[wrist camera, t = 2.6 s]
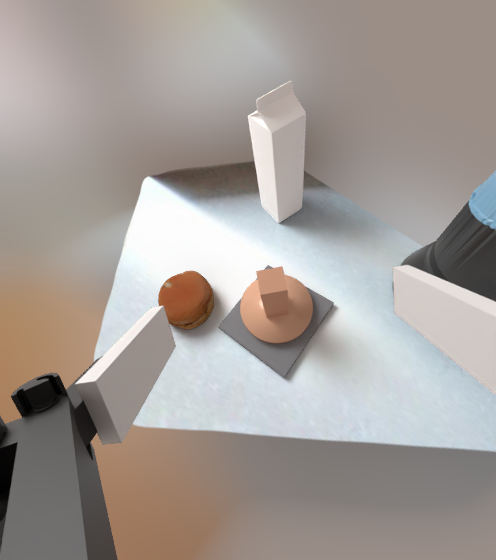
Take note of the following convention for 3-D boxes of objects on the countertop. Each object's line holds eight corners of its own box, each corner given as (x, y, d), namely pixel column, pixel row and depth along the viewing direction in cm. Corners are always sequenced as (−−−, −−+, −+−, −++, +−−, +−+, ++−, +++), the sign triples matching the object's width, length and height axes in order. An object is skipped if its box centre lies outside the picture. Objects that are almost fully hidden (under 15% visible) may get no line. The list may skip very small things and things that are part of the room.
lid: (320, 337, 39) (328, 314, 30) (245, 349, 40) (232, 331, 31) (303, 271, 44) (305, 236, 35) (238, 283, 45) (224, 252, 36)
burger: (206, 334, 43) (196, 325, 39) (158, 324, 45) (144, 315, 41) (222, 282, 47) (215, 270, 43) (177, 275, 49) (167, 263, 45)
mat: (333, 304, 42) (333, 302, 41) (284, 377, 38) (284, 377, 37) (268, 267, 47) (267, 265, 46) (219, 328, 43) (218, 326, 42)
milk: (302, 208, 52) (308, 87, 33) (278, 224, 51) (270, 109, 32) (283, 192, 55) (279, 71, 35) (260, 206, 54) (243, 91, 34)
